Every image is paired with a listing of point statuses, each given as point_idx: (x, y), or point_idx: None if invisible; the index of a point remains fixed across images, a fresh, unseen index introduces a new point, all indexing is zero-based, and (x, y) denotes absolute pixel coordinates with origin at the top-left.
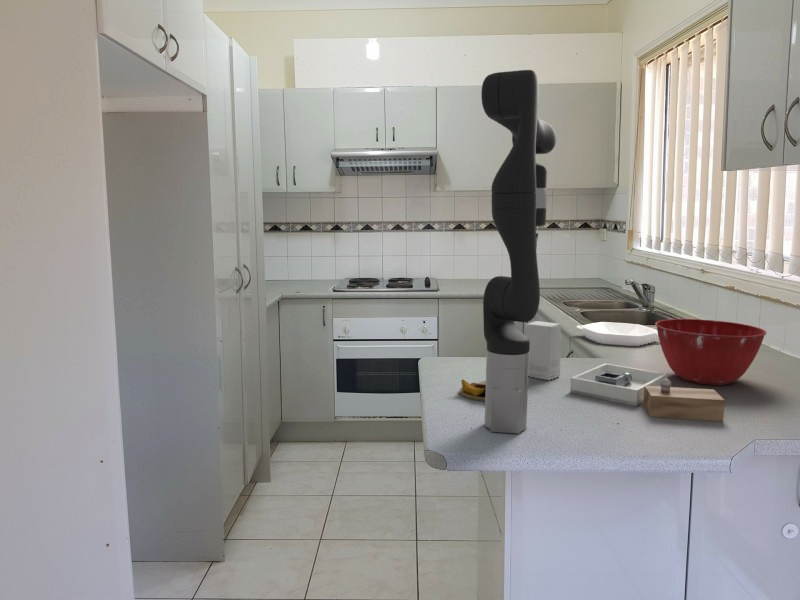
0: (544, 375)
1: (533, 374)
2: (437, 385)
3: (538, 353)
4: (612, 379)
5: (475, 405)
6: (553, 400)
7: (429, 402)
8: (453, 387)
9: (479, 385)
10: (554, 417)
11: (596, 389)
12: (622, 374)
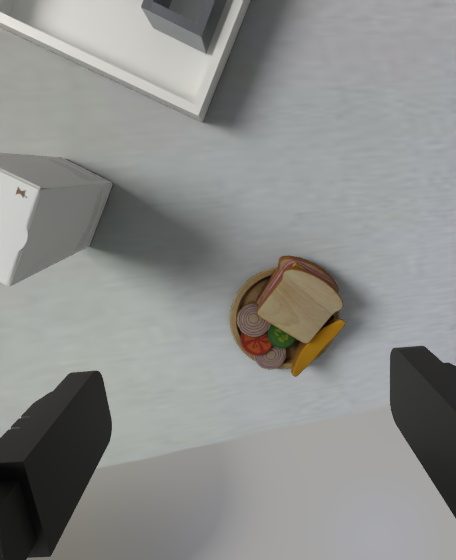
0: (105, 196)
1: (95, 226)
2: (243, 415)
3: (76, 220)
4: None
5: (368, 321)
6: (285, 160)
7: (369, 406)
8: (247, 384)
9: (315, 333)
10: (418, 148)
11: (230, 43)
12: None
